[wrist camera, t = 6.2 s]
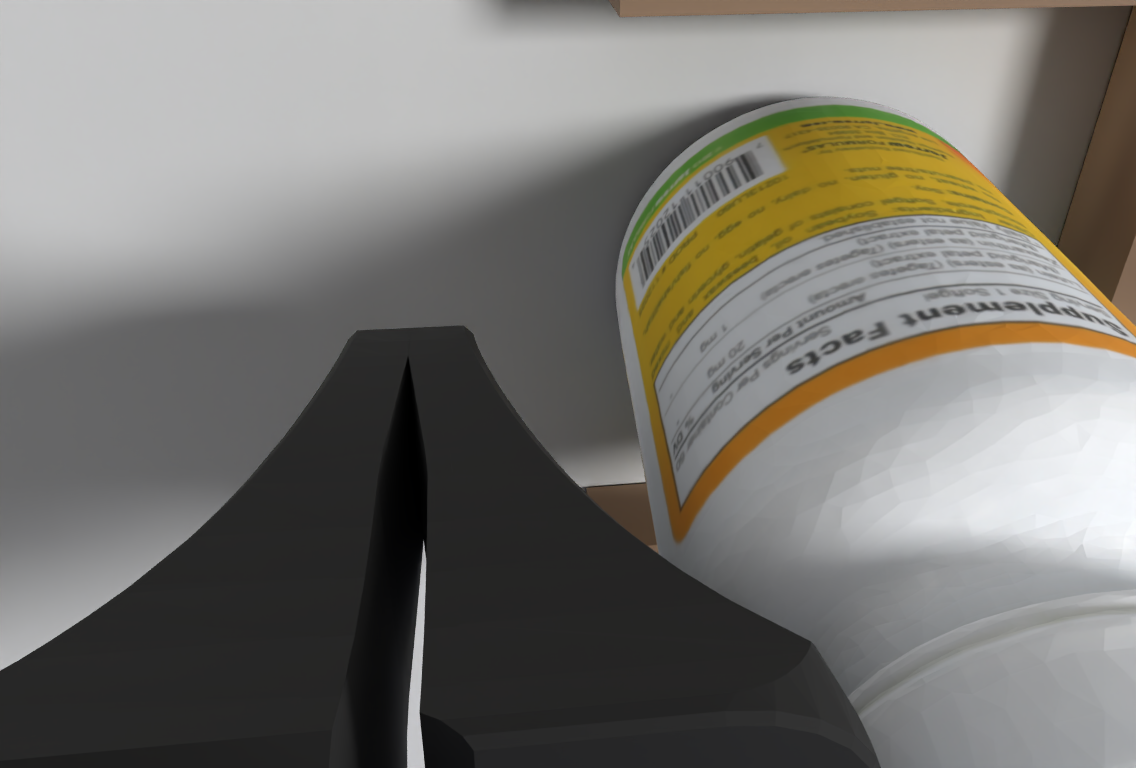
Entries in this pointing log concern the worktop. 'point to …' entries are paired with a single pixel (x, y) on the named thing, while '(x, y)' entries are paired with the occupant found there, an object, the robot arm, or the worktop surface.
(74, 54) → the worktop surface
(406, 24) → the worktop surface
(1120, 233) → the walnut stop
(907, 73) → the worktop surface
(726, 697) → the robot arm
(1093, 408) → the supplement bottle
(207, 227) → the worktop surface
